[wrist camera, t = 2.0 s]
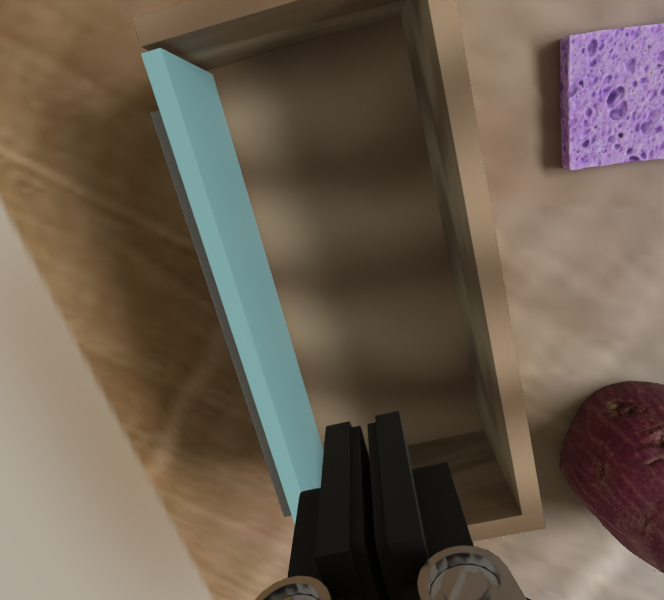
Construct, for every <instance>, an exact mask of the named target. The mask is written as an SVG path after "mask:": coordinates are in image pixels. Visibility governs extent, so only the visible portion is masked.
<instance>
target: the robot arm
mask: <svg viewBox="0 0 664 600" xmlns="http://www.w3.org/2000/svg"><path fill="white" fill-rule="evenodd" d="M375 420H376V422H374V423H370V424H367V428H368V443H369V454H368V451H367V447H366V443H365V439H364V436H363V432H362V429H361V426H355V427H352V425H351V422H350V421H348V422H343V423H339V424H334V425H329V426H326V429H325V441H324V453H323V464H322V476H321V487H320V488H315V489H311V490H306V491H302V492H301V493H300V496H299V501H298V508H297V515H296V522H295V529H294V536H293V543H292V550H291V557H290V564H289V571H288V578H285V579H283V580H281V581H278V582H276V583H274V584H272V585H271V586H270V587H268V588H267V589H265V590H264V591H263V592H262V593H261V594H260V595H259V596H258V597H257V598H256V599H255V600H530V599H528V598H526V597H525V596H524V594H523V592H522V591H521V589H520V587H519V586H518V584H517V582H516V581H515V579H514V577H513V576H512V574H511V572H510V571H509V569H508V567H507V566H506V565H505V564H504V562H503V561H502V560H501V559H500V558H499V557H498V556H496V555H495V554H493V553H492V552H490V551H488V550H486V549H482V548H479V547H476V546H473V542H472V539H471V536H470V533H469V530H468V526H467V523H466V520H465V517H464V514H463V510H462V507H461V504H460V501H459V498H458V495H457V491H456V488H455V485H454V482H453V479H452V475H451V472H450V469H449V466H448V463H447V462H444V463H439V464H434V465H429V466H424V467H419V468H414V469H413V466H412V462H411V457H410V453H409V449H408V445H407V441H406V437H405V433H404V429H403V425H402V421H401V417H400V413H399V411H395V412H390V413H385V414H381V415H376V416H375Z"/></svg>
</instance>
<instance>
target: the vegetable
mask: <svg viewBox="0 0 664 600" xmlns="http://www.w3.org/2000/svg"><path fill="white" fill-rule="evenodd" d="M560 470H561V471H563V472H564V474H563V475H564V476H565V477H566V479H567V481H568V483H569V484H570V486H571V487H572V489H573V490H574V492H575V493H576V494H577V496H578V497H579V498H580V499H581V500H582V502H583V503H584V504H585V505H586V507H587V508H588V509H589V510H590V511H591V512H592V513H593V514H594V515H595V516H596V517H597V518H598V519H599V520H600V522H601V523H602V525H603V526H604V527H605V528H606V529H607V530H608V531H609V532H610V533H611V534H612V535H613V536H614V537H615V538H616V539H617V540H618V541H619V542H620V543H621V544H622V545H623V546H624V547H626V548H627V549H628V550H629V551H630V552H632V553H633V554H635V555H636V556H638V557H639V558H641V559H642V560H644V561H645V562H647V563H648V564H650V565H652V566H653V567H655V568H656V569H658V570H660V571H661V572H663V573H664V385H661V384H658V383H652V382H637V381H628V382H623V383H619V384H614V385H610V386H608V387H606V388H603V389H601V390H600V391H598V392H596V393H594V394H593V395H592V396H591V397H590V398H588V400H587V401H586V402H585V403H584V404H583V405H582V407H581V408H580V409H579V411H578V412H577V414H576V416H575V417H574V420H573V421H572V424H571V426H570V428H569V431H568V433H567V436H566V439H565V441H564V443H563V446H562V449H561V464H560ZM654 571H655V570H654Z"/></svg>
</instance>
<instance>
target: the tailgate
mask: <svg viewBox="0 0 664 600" xmlns="http://www.w3.org/2000/svg"><path fill="white" fill-rule="evenodd" d="M141 55H142V58H143V61H144V64H145V68H146V71H147V74H148V77H149V80H150V83H151V86H152V89H153V92H154V95H155V98H156V101H157V104H158V107H159V110H156V111H153V112H150V114H151V117H152V120H153V123H154V126H155V129H156V132H157V135H158V138H159V141H160V144H161V147H162V150H163V154H164V157H165V160H166V163H167V166H168V169H169V172H170V175H171V178H172V181H173V184H174V187H175V190H176V193H177V196H178V199H179V202H180V205H181V208H182V211H183V214H184V217H185V220H186V223H187V226H188V229H189V232H190V235H191V238H192V241H193V244H194V247H195V250H196V253H197V256H198V259H199V262H200V265H201V268H202V271H203V274H204V277H205V280H206V283H207V286H208V289H209V292H210V295H211V298H212V301H213V304H214V307H215V310H216V313H217V316H218V319H219V322H220V325H221V328H222V331H223V334H224V337H225V340H226V343H227V346H228V349H229V352H230V355H231V358H232V361H233V364H234V367H235V370H236V374H237V377H238V380H239V383H240V386H241V389H242V392H243V395H244V398H245V401H246V404H247V407H248V410H249V413H250V416H251V419H252V422H253V425H254V428H255V431H256V434H257V437H258V440H259V443H260V446H261V449H262V452H263V455H264V458H265V461H266V464H267V467H268V470H269V473H270V476H271V479H272V482H273V485H274V488H275V491H276V494H277V497H278V500H279V503H280V506H281V509H282V512H283V515H284V517H286V516H291V515H292V517H293V521H294V524H295V522H296V515H297V508H298V501H299V496H300V493H301V492H302V491H306V490H311V489H315V488H320V487H321V476H322V464H323V453H324V450H323V447H322V443H321V440H320V436H319V433H318V430H317V426H316V423H315V420H314V416H313V413H312V409H311V406H310V403H309V399H308V396H307V392H306V389H305V386H304V382H303V379H302V375H301V372H300V369H299V365H298V362H297V358H296V355H295V352H294V348H293V345H292V342H291V338H290V335H289V331H288V328H287V325H286V321H285V318H284V314H283V311H282V308H281V304H280V301H279V297H278V294H277V291H276V287H275V284H274V281H273V277H272V274H271V270H270V267H269V264H268V260H267V257H266V253H265V250H264V247H263V243H262V240H261V236H260V233H259V230H258V226H257V223H256V219H255V216H254V213H253V209H252V206H251V203H250V199H249V196H248V192H247V189H246V186H245V182H244V179H243V175H242V172H241V169H240V165H239V162H238V158H237V155H236V152H235V148H234V145H233V142H232V138H231V135H230V131H229V128H228V125H227V121H226V118H225V114H224V111H223V108H222V104H221V101H220V97H219V94H218V91H217V87H216V84H215V80H214V77H213V74H211V73H209V72H207V71H205V70H203V69H201V68H199V67H197V66H195V65H193V64H191V63H189V62H187V61H185V60H183V59H182V58H180V57H178V56H176V55H174V54H172V53H170V52H168V51H166V50H164V49H162V48H158V49H155V50H151V51H148V52H145V53H141Z"/></svg>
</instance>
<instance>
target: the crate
mask: <svg viewBox="0 0 664 600" xmlns="http://www.w3.org/2000/svg"><path fill="white" fill-rule="evenodd" d="M132 20H133V23H134V26H135V29H136V32H137V35H138V38H139V41H140V44H141V47H143V48H145V49H147V50H149V51H151V50H155V49H158V48H162V49H164V50H166V51H168V52H170V53H172V54H174V55H176V56H178V57H180V58H182V59H183V60H185V61H187V62H189V63H191V64H193V65H195V66H197V67H199V68H201V69H203V70H205V71H207V72H209V73H211V74H213V77H214V80H215V84H216V87H217V91H218V94H219V97H220V101H221V104H222V108H223V111H224V114H225V118H226V121H227V125H228V128H229V131H230V135H231V138H232V142H233V145H234V148H235V152H236V155H237V158H238V162H239V165H240V169H241V172H242V175H243V179H244V182H245V186H246V189H247V192H248V196H249V199H250V203H251V206H252V209H253V213H254V216H255V219H256V223H257V226H258V230H259V233H260V236H261V240H262V243H263V247H264V250H265V253H266V257H267V260H268V264H269V267H270V270H271V274H272V277H273V281H274V284H275V287H276V291H277V294H278V297H279V301H280V304H281V308H282V311H283V314H284V318H285V321H286V325H287V328H288V331H289V335H290V338H291V342H292V345H293V348H294V352H295V355H296V358H297V362H298V365H299V369H300V372H301V375H302V379H303V382H304V386H305V389H306V392H307V396H308V399H309V403H310V406H311V409H312V413H313V416H314V420H315V423H316V426H317V430H318V433H319V436H320V440H321V443H322V447H323V450H324V441H325V429H326V426H329V425H334V424H339V423H343V422H348V421H350V422H351V425H352V427H355V426H361V429H362V432H363V436H364V439H365V443H366V447H367V451H368V454H369V443H368V428H367V424H370V423H374V422H376V420H375V416H376V415H381V414H385V413H390V412H395V411H399V413H400V417H401V421H402V425H403V429H404V433H405V437H406V441H407V445H408V449H409V453H410V457H411V462H412V466H413V469H414V468H419V467H424V466H429V465H434V464H439V463H444V462H447V463H448V466H449V469H450V472H451V475H452V479H453V482H454V485H455V488H456V491H457V495H458V498H459V501H460V504H461V507H462V510H463V514H464V517H465V520H466V523H467V526H468V530H469V533H470V536H471V539H472V541H477V540H483V539H488V538H494V537H499V536H505V535H510V534H515V533H521V532H526V531H532V530H537V529H543V528H546V527H545V521H544V515H543V509H542V503H541V498H540V492H539V486H538V480H537V474H536V468H535V462H534V456H533V450H532V445H531V439H530V433H529V427H528V421H527V415H526V409H525V403H524V397H523V392H522V386H521V380H520V374H519V368H518V362H517V356H516V350H515V344H514V339H513V333H512V327H511V321H510V315H509V309H508V303H507V297H506V291H505V286H504V280H503V274H502V268H501V262H500V256H499V250H498V244H497V238H496V233H495V227H494V221H493V215H492V209H491V203H490V197H489V191H488V185H487V180H486V174H485V168H484V162H483V156H482V150H481V144H480V138H479V132H478V127H477V121H476V115H475V109H474V103H473V97H472V91H471V85H470V79H469V74H468V68H467V62H466V56H465V50H464V44H463V38H462V32H461V27H460V21H459V15H458V9H457V3H456V0H193V1H190V2H186V3H183V4H180V5H176V6H173V7H170V8H166V9H163V10H160V11H157V12H153V13H150V14H147V15H143V16H140V17H137V18H133V19H132Z"/></svg>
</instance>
